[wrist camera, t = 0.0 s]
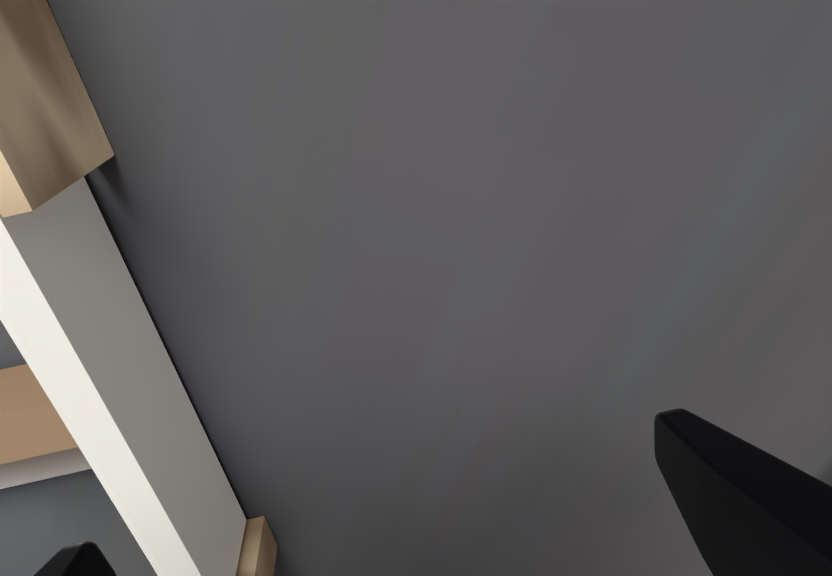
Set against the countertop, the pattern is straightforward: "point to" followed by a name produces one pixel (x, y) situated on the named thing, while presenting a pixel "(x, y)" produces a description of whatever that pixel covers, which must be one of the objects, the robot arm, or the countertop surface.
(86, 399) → the sliding door
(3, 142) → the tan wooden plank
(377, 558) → the countertop surface
